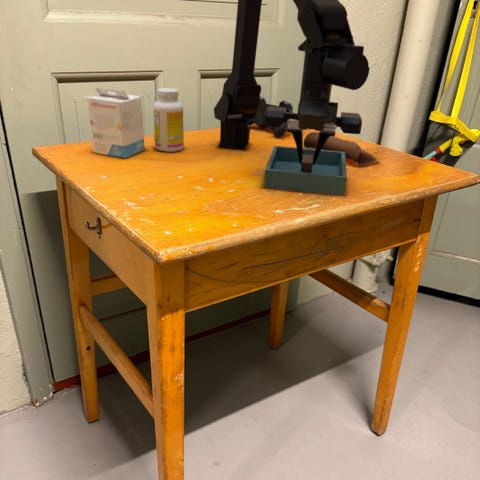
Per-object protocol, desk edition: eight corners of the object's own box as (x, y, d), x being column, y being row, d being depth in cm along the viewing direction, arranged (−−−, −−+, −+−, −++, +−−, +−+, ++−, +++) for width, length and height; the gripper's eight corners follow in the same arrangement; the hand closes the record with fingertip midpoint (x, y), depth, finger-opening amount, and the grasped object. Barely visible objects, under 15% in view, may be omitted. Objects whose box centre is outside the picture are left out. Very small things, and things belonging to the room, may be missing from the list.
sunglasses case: (381, 160, 121) (377, 136, 116) (361, 179, 120) (356, 156, 115) (326, 142, 133) (319, 119, 128) (307, 159, 131) (300, 137, 127)
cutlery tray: (263, 188, 102) (265, 169, 100) (272, 161, 117) (274, 145, 116) (343, 195, 100) (347, 177, 98) (342, 168, 116) (344, 151, 114)
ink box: (145, 150, 120) (142, 87, 113) (124, 159, 113) (119, 93, 106) (114, 144, 123) (110, 83, 115) (92, 152, 116) (85, 87, 109)
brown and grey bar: (311, 175, 103) (312, 163, 102) (300, 174, 103) (301, 162, 102) (312, 159, 113) (314, 148, 111) (302, 158, 113) (303, 147, 112)
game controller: (292, 145, 140) (305, 109, 138) (280, 137, 134) (294, 98, 133) (244, 134, 148) (256, 99, 147) (231, 125, 142) (243, 89, 141)
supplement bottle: (188, 147, 124) (188, 89, 117) (176, 154, 119) (175, 93, 112) (162, 143, 126) (161, 86, 119) (149, 150, 120) (147, 90, 113)
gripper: (263, 83, 92) (256, 171, 100) (370, 92, 90) (354, 180, 98) (269, 74, 101) (263, 155, 109) (366, 82, 99) (352, 164, 108)
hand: (306, 164), depth 106 cm, fingers closed on brown and grey bar, 2 cm apart
